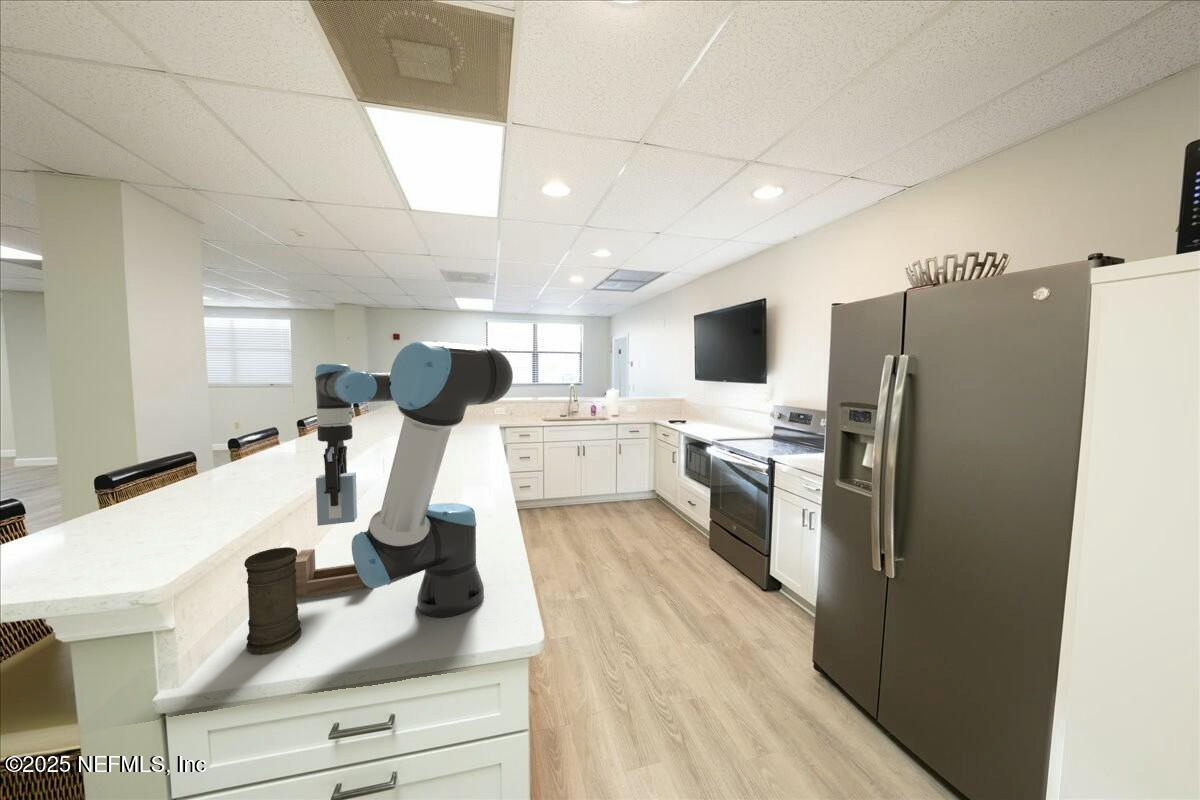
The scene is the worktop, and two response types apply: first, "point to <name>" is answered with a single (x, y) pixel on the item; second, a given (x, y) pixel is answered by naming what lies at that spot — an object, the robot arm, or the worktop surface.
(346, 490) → the door
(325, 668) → the worktop surface
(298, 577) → the frame
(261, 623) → the container
